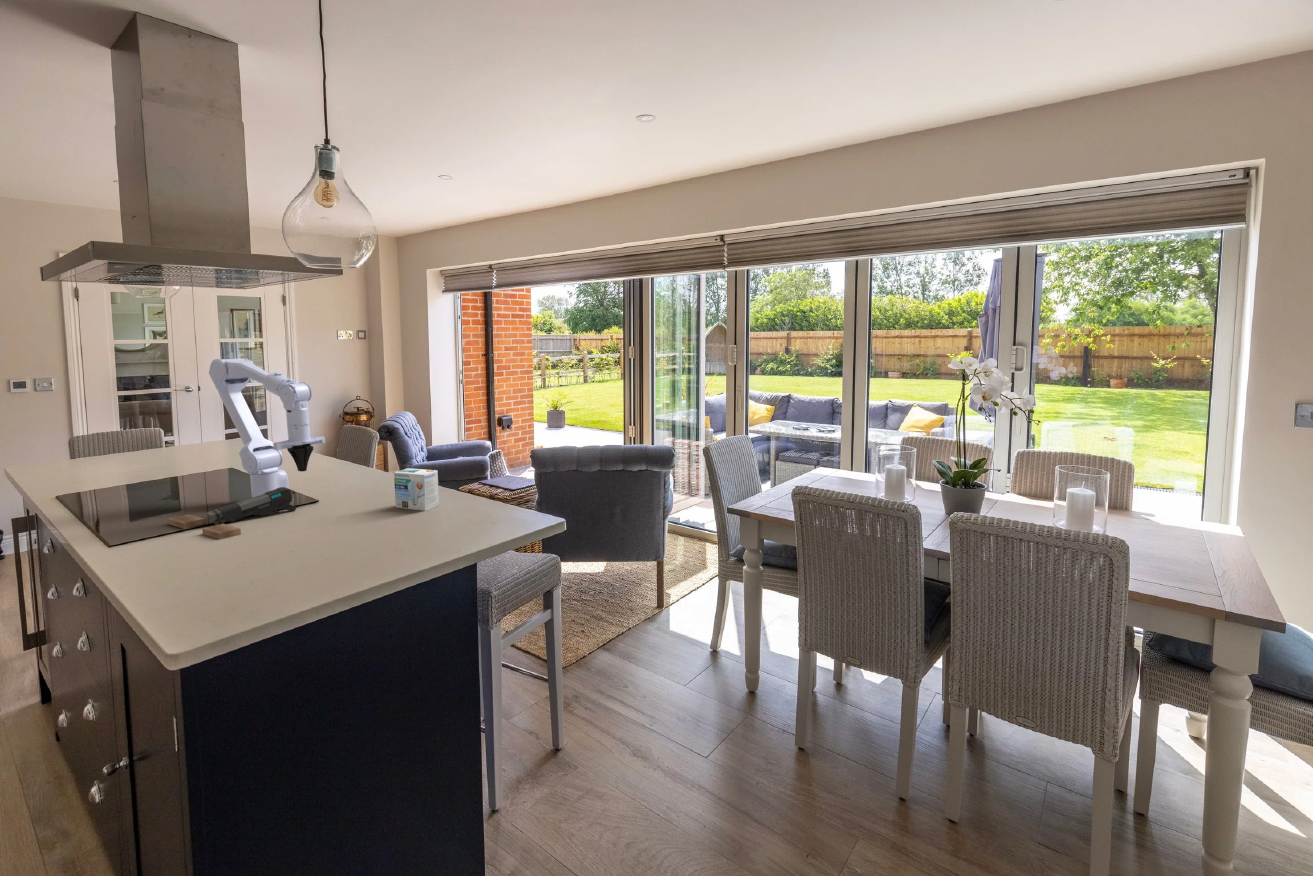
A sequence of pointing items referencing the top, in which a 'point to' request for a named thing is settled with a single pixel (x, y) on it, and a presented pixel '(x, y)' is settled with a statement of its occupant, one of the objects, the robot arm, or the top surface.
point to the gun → (254, 506)
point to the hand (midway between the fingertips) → (302, 470)
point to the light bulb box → (416, 489)
